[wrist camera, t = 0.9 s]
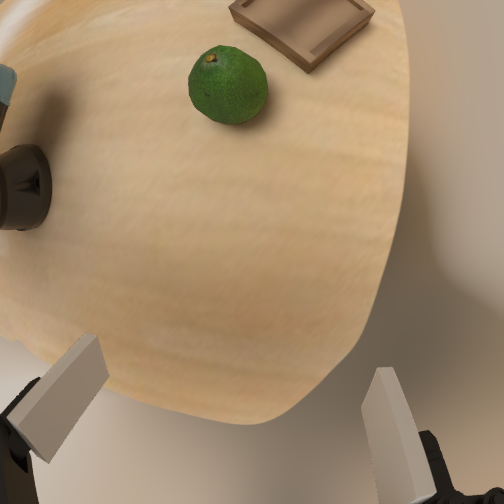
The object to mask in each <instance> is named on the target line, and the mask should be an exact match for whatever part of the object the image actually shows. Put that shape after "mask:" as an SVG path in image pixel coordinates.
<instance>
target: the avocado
mask: <svg viewBox="0 0 504 504" xmlns="http://www.w3.org/2000/svg"><path fill="white" fill-rule="evenodd" d="M188 86H189V96H190V98H191V101H192V103H193V105H194V107H195V108H196V109H197V110H199V111H200V112H201V113H203V114H204V115H206V116H207V117H209V118H210V119H212V120H213V121H216V122H220V123H223V124H240V123H242V122H245V121H247V120H250V119H251V118H253V117H254V116H256V115H257V114H258V113H259V111H260V110H261V108H262V107H263V105H264V104H265V102H266V98H267V94H268V86H267V79H266V73H265V72H264V70H263V68H262V67H261V65H260V63H259V62H258V61H257V60H256V59H254V58H252V57H251V56H249V55H248V54H246V53H244V52H243V51H241V50H239V49H237V48H236V47H230V46H222V45H219V46H216V47H214V48H212V49H210V50H208V51H207V52H205V53H204V54H203V55H201V57H200V58H199V59H198V60H197V61H196V63H195V65H194V66H193V69H192V71H191V73H190V75H189V77H188Z"/></svg>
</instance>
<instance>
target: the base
mask: <svg viewBox="0 0 504 504" xmlns="http://www.w3.org/2000/svg"><path fill="white" fill-rule="evenodd" d="M229 10H230V12H231V14H232V17H233V19H234V21H235V22H237V23H238V24H240V25H242V26H243V27H245V28H246V29H248V30H249V31H251V32H252V33H254V34H255V35H257V36H258V37H260V38H261V39H263V40H264V41H266V42H267V43H268V44H270V45H271V46H273V47H274V48H275V49H277V50H278V51H279V52H281V53H282V54H283V55H285V56H286V57H287V58H289V59H290V60H291V61H292V62H294V63H295V64H296V65H297V66H299V67H300V68H301V69H302V70H304V71H305V72H306V73H307V74H308V73H309V72H310V71H312V70H313V69H314V68H315V67H316V66H317V65H318V64H319V63H321V62H322V61H323V60H324V59H325V58H326V57H327V56H329V55H330V54H331V53H332V52H333V51H334V50H336V49H337V48H338V47H339V46H340V45H342V44H343V43H344V42H345V41H346V40H348V39H349V38H350V37H351V36H353V35H354V34H355V33H356V32H358V31H359V30H360V29H361V28H363V27H364V26H365V25H367V24H368V22H369V21H370V19H371V17H372V16H373V14H374V12H375V11H376V10H375V9H374V8H372V7H371V6H370V5H368V4H367V3H366V2H365V1H363V0H236V1H235V2H234V3H232V4H231V5H230V6H229Z"/></svg>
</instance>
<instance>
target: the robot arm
mask: <svg viewBox="0 0 504 504" xmlns="http://www.w3.org/2000/svg"><path fill="white" fill-rule="evenodd" d="M16 81H17V75H16V72H15V71H14V70H13V69H12V68H10V67H8V66H5V65H3V64H0V131H1V128H2V125H3V121H4V118H5V115H6V112H7V109H8V107H9V106H10V100H11V96H12V93H13V90H14V87H15V85H16ZM50 200H51V175H50V170H49V166H48V163H47V160H46V158H45V156H44V154H43V152H42V151H41V150H40V149H39V148H38V147H37V146H35V145H32V144H23V145H18V146H15V147H13V148H12V149H10V150H9V151H7V152H5V153H3V154H1V155H0V230H14V229H16V230H18V231H26V230H29V229H32V228H35V227H37V226H38V225H40V224H41V223H42V221H43V220H44V218H45V216H46V214H47V212H48V209H49V205H50ZM109 376H110V375H109V372H108V369H107V366H106V363H105V360H104V357H103V354H102V350H101V347H100V344H99V340H98V336H97V335H93V334H90V333H85V334H84V335H83V336H82V337H81V338H80V339H79V340H78V341H77V342H76V343H75V344H74V345H73V346H72V347H71V348H70V349H69V350H68V351H67V352H66V353H65V354H64V355H63V356H62V357H61V358H60V359H59V360H58V361H57V362H56V363H55V364H54V365H53V366H52V367H51V368H50V369H49V371H48V372H47V373H46V374H45V375H44V376H43V377H42V378H40V377H38V378H36V379H34V380H32V381H30V383H28V385H27V386H26V387H25V388H24V390H22V391H21V392H20V393H19V395H17V396H16V398H15V399H14V400H13V401H12V402H11V403H10V404H9V405H8V406H7V408H6V409H5V410H4V411H3V412H2V413H1V414H0V504H39V502H38V497H37V492H36V487H35V481H34V475H33V468H32V460H31V456H30V453H29V451H30V450H32V451H33V452H34V453H35V454H36V455H37V457H39V458H41V459H42V460H44V461H46V462H47V463H48V464H49V463H50V461H51V460H52V458H53V457H54V455H55V454H56V452H57V451H58V449H59V448H60V446H61V445H62V443H63V442H64V440H65V439H66V437H67V436H68V434H69V433H70V431H71V430H72V428H73V427H74V426H75V424H76V422H77V421H78V420H79V418H80V417H81V415H82V414H83V413H84V411H85V410H86V408H87V407H88V406H89V404H90V403H91V401H92V400H93V399H94V397H95V396H96V394H97V393H98V392H99V390H100V389H101V387H102V386H103V385H104V383H105V382H106V380H107V379H108V378H109ZM361 410H362V414H363V419H364V424H365V428H366V432H367V438H368V443H369V448H370V453H371V458H372V464H373V469H374V475H375V481H376V487H377V493H378V500H379V504H504V490H503V489H502V488H499V487H496V488H492V489H491V490H489V491H488V492H487V493H486V494H484V495H472V496H465V495H463V493H461V492H459V491H456V490H455V489H454V487H453V485H452V482H451V479H450V475H449V472H448V470H447V466H446V464H445V461H444V459H443V455H442V452H441V450H440V447H439V444H438V441H437V439H436V437H435V436H434V435H433V434H432V433H431V432H430V431H429V430H426V431H421V432H418V431H417V428H416V425H415V423H414V420H413V417H412V414H411V412H410V409H409V407H408V404H407V401H406V399H405V396H404V394H403V391H402V389H401V386H400V384H399V381H398V379H397V377H396V374H395V372H394V369H393V367H379V368H377V370H376V372H375V375H374V378H373V381H372V383H371V385H370V388H369V390H368V393H367V395H366V398H365V400H364V402H363V404H362V407H361Z"/></svg>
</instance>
